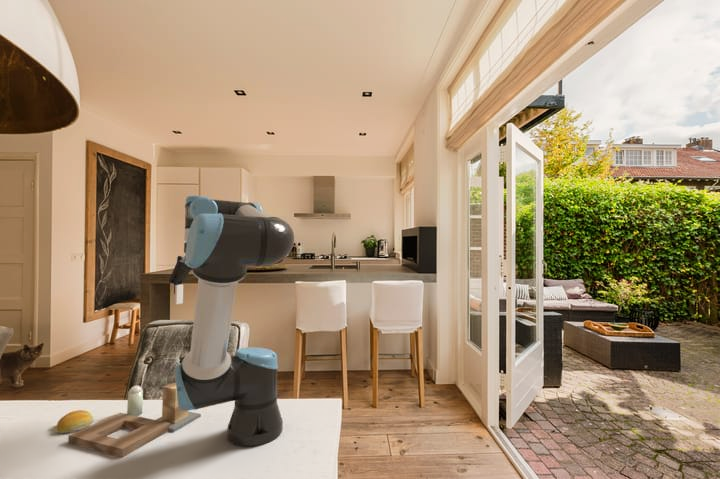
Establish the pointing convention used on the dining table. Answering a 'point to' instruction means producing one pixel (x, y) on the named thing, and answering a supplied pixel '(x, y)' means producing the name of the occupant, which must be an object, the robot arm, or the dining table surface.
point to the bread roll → (74, 421)
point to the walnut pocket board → (99, 439)
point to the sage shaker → (135, 401)
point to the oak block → (171, 405)
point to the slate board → (182, 421)
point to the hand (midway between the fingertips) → (194, 304)
